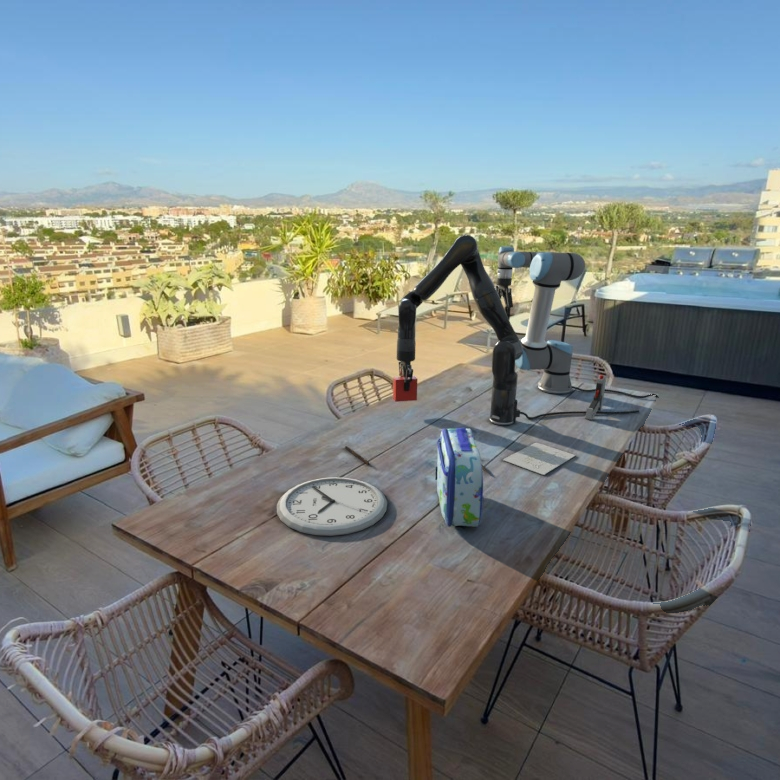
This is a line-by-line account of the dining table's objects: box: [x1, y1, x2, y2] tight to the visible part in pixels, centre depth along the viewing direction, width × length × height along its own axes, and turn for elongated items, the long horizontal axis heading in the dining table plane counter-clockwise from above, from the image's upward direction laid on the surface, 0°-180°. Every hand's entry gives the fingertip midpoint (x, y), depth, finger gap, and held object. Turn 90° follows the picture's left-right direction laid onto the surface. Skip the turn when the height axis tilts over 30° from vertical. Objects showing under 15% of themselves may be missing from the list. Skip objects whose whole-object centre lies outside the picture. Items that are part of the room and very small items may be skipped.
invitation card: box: [502, 442, 577, 476], centre depth 174 cm, size 21×1×15 cm
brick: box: [392, 375, 418, 403], centre depth 215 cm, size 4×9×9 cm, turn 104°
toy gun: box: [585, 374, 606, 421], centre depth 213 cm, size 2×16×15 cm
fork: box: [482, 465, 488, 474], centre depth 169 cm, size 3×16×2 cm, turn 15°
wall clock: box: [276, 476, 388, 537], centre depth 142 cm, size 30×2×30 cm
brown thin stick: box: [344, 445, 370, 465], centre depth 173 cm, size 15×1×1 cm, turn 34°
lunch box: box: [434, 427, 484, 528], centre depth 139 cm, size 26×11×21 cm, turn 179°
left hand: (405, 389), depth 215 cm, fingers closed on brick, 4 cm apart
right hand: (501, 318), depth 277 cm, fingers open, 13 cm apart
